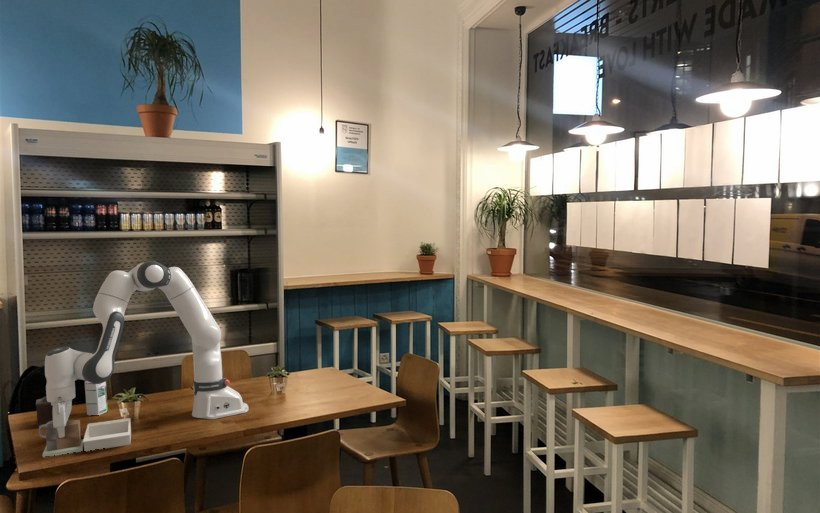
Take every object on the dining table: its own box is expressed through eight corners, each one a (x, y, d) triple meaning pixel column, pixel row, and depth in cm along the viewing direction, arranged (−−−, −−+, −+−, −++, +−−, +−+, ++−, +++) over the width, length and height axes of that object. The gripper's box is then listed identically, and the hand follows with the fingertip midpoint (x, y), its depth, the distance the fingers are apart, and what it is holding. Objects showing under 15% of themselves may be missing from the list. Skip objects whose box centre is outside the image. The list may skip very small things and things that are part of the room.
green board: (84, 442, 224) (84, 439, 224) (82, 451, 215) (82, 448, 215) (46, 448, 219) (46, 444, 219) (42, 457, 210) (42, 454, 210)
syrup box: (98, 415, 255) (96, 381, 255) (86, 415, 257) (84, 381, 256) (108, 411, 261) (106, 377, 260) (95, 411, 262) (94, 377, 261)
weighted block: (80, 441, 221) (79, 419, 221) (79, 446, 217) (78, 423, 216) (48, 446, 217) (47, 424, 217) (47, 451, 213) (45, 428, 212)
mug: (71, 436, 232) (70, 418, 231) (62, 442, 225) (61, 424, 224) (44, 437, 231) (43, 419, 231) (34, 443, 225) (33, 425, 224)
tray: (131, 429, 237) (130, 417, 237) (130, 447, 218) (129, 434, 218) (88, 435, 231) (87, 423, 231) (83, 454, 212) (83, 441, 212)
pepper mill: (69, 423, 247) (66, 379, 246) (37, 428, 241) (34, 383, 240) (68, 413, 260) (65, 371, 259) (37, 418, 255) (34, 375, 253)
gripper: (68, 400, 208) (70, 440, 209) (74, 386, 227) (76, 423, 227) (46, 403, 205) (49, 443, 206) (54, 388, 224) (56, 425, 225)
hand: (63, 432), depth 217 cm, fingers open, 8 cm apart
